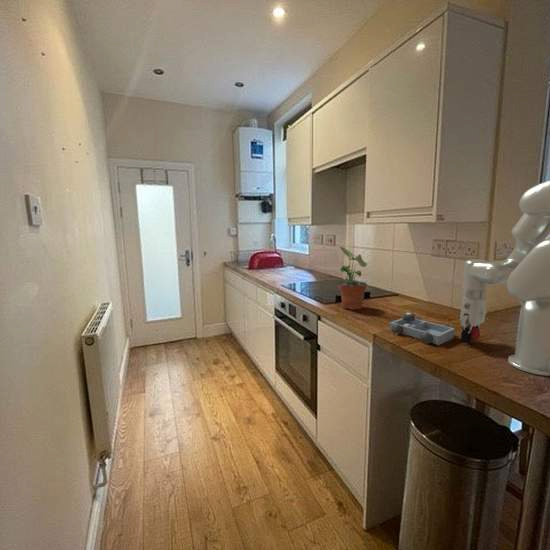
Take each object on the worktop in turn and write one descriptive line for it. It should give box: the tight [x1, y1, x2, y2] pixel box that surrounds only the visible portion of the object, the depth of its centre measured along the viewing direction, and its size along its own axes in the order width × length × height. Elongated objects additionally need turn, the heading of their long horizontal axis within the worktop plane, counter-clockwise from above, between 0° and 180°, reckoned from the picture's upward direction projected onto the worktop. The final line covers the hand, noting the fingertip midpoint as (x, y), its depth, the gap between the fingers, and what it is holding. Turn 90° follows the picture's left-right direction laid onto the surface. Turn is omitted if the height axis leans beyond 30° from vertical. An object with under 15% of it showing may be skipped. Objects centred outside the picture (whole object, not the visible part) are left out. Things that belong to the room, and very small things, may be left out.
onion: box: [460, 323, 481, 344], centre depth 113 cm, size 6×6×8 cm
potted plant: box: [338, 246, 369, 310], centre depth 159 cm, size 16×15×35 cm
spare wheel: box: [402, 312, 416, 321], centre depth 127 cm, size 5×5×2 cm
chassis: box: [389, 316, 456, 346], centre depth 123 cm, size 20×17×4 cm
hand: (469, 340), depth 113 cm, fingers closed on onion, 5 cm apart
